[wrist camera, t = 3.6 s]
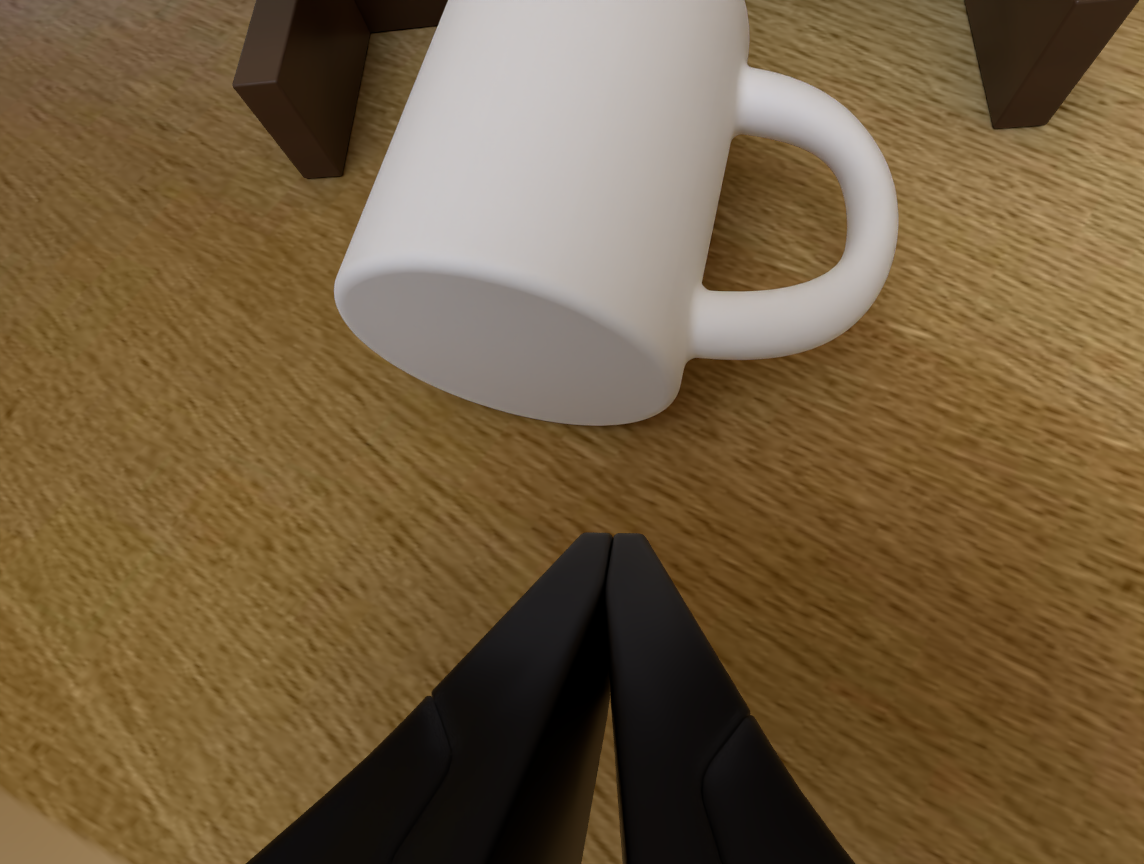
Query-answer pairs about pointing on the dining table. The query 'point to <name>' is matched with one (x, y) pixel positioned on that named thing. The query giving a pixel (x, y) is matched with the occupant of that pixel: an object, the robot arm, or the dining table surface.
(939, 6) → the dining table surface
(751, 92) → the mug
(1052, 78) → the shelf
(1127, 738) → the dining table surface
